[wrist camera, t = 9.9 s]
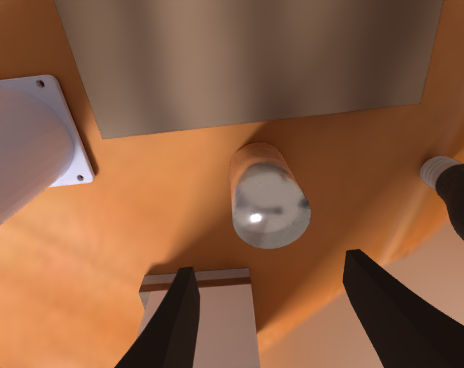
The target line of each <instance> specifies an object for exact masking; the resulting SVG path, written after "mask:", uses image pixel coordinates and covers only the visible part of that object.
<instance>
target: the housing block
mask: <svg viewBox="0 0 464 368" xmlns="http://www.w3.org/2000/svg"><path fill="white" fill-rule="evenodd" d="M443 1H444V0H54V3H55V6H56V9H57V12H58V15H59V17H60V20H61V23H62V26H63V29H64V32H65V34H66V37H67V40H68V43H69V46H70V49H71V51H72V54H73V57H74V60H75V63H76V66H77V68H78V71H79V74H80V77H81V80H82V83H83V85H84V88H85V91H86V94H87V97H88V100H89V102H90V105H91V108H92V111H93V114H94V117H95V120H96V122H97V125H98V128H99V131H100V134H101V137H102V139H111V138H119V137H128V136H137V135H146V134H155V133H164V132H173V131H182V130H190V129H199V128H208V127H217V126H226V125H235V124H244V123H253V122H262V121H270V120H279V119H288V118H297V117H306V116H315V115H324V114H333V113H342V112H350V111H359V110H368V109H377V108H386V107H395V106H404V105H413V104H420V103H421V99H422V94H423V90H424V85H425V81H426V77H427V72H428V68H429V63H430V59H431V54H432V50H433V45H434V41H435V37H436V32H437V28H438V23H439V19H440V14H441V10H442V6H443Z"/></svg>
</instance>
